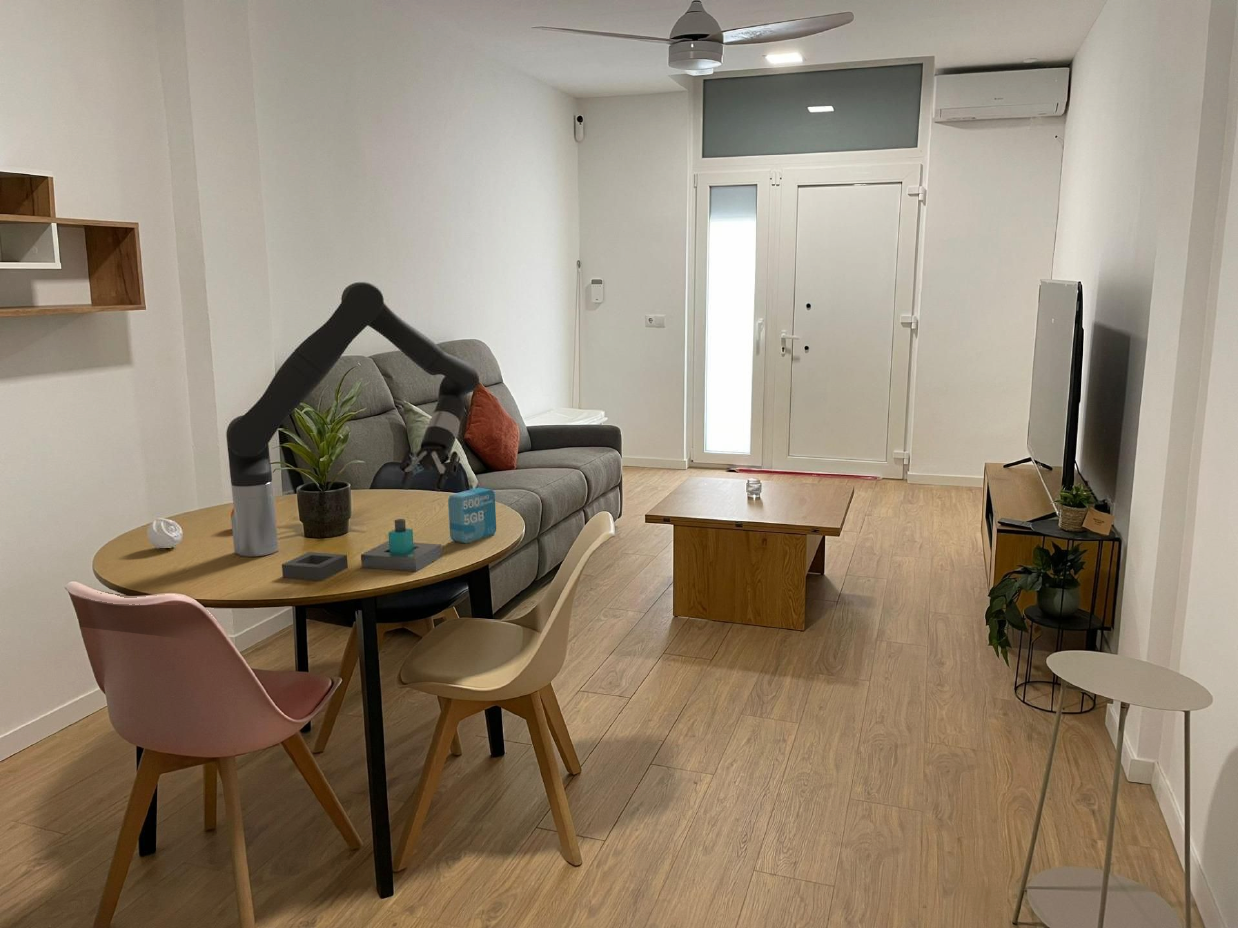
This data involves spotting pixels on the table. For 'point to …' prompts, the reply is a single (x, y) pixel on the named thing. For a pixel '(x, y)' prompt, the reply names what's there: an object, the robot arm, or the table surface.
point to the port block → (401, 557)
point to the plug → (401, 538)
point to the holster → (314, 566)
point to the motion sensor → (164, 533)
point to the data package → (472, 515)
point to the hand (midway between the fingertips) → (420, 488)
